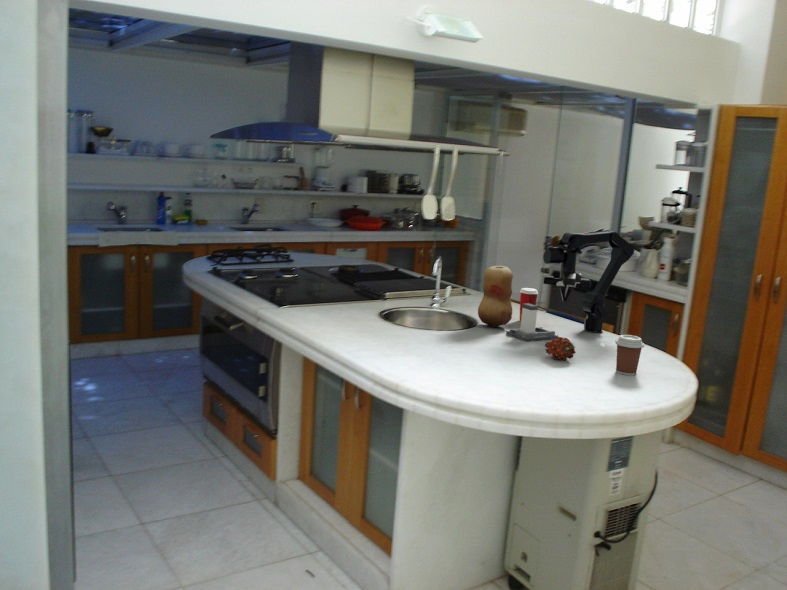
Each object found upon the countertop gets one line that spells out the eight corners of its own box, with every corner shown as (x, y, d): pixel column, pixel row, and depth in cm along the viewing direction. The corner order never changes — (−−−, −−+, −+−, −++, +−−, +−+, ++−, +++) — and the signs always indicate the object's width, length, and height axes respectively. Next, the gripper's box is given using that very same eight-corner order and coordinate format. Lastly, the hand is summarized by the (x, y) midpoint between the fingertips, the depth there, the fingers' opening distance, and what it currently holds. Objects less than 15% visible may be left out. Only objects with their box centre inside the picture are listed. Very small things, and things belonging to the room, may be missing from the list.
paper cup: (534, 320, 312) (537, 288, 310) (536, 324, 305) (539, 291, 302) (516, 318, 313) (519, 287, 310) (517, 322, 305) (520, 290, 303)
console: (536, 331, 292) (537, 325, 291) (557, 338, 282) (558, 332, 281) (506, 334, 284) (506, 328, 283) (526, 341, 274) (527, 335, 273)
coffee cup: (618, 366, 248) (622, 332, 245) (644, 373, 242) (649, 338, 240) (607, 371, 241) (611, 336, 238) (634, 378, 235) (638, 342, 233)
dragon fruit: (572, 368, 247) (544, 364, 256) (584, 351, 251) (556, 348, 261) (563, 350, 244) (535, 347, 253) (575, 333, 248) (547, 330, 257)
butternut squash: (474, 328, 290) (480, 266, 285) (478, 321, 303) (484, 262, 298) (509, 332, 287) (515, 270, 282) (512, 325, 300) (518, 265, 295)
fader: (528, 331, 285) (531, 303, 283) (537, 334, 281) (540, 305, 278) (516, 332, 282) (519, 303, 280) (525, 336, 277) (528, 306, 275)
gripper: (547, 265, 283) (543, 304, 286) (595, 269, 281) (591, 308, 284) (544, 261, 294) (540, 299, 297) (590, 264, 292) (586, 302, 295)
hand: (564, 302), depth 293 cm, fingers closed
